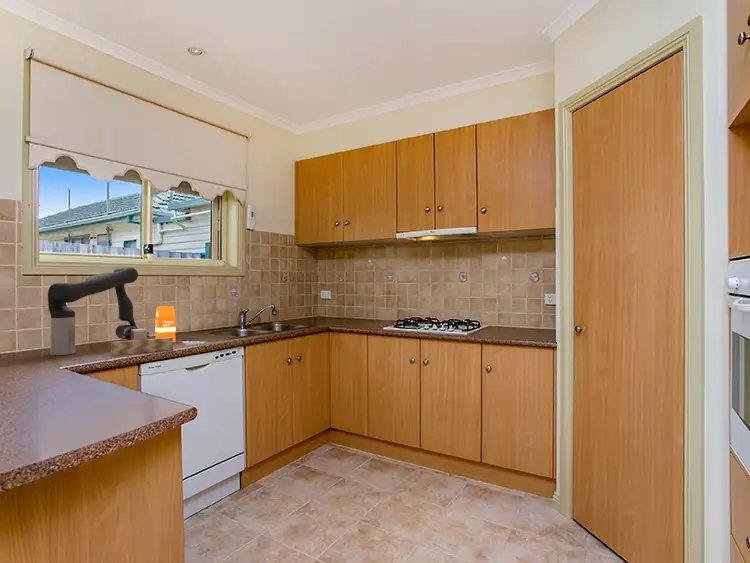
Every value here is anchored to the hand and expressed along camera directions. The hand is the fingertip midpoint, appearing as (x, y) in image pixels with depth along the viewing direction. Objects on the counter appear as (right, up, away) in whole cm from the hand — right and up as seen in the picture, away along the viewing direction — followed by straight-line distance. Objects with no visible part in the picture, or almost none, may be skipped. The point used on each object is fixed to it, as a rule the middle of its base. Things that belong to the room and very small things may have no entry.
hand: (139, 337), depth 211 cm
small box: (+2, -6, -4) cm, 8 cm away
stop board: (+6, -6, -7) cm, 11 cm away
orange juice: (0, -6, +27) cm, 28 cm away
